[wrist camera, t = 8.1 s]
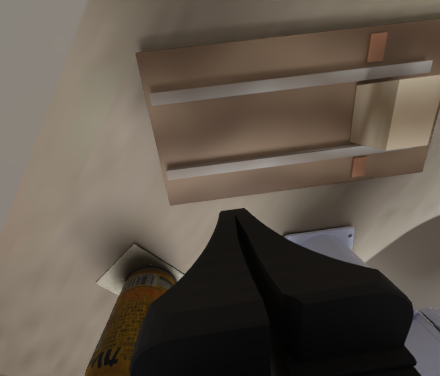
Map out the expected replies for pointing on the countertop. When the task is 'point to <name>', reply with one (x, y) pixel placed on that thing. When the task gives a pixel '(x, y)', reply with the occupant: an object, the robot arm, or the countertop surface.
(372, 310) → the robot arm
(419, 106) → the fader tab
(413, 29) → the console
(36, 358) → the countertop surface
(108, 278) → the condiment
